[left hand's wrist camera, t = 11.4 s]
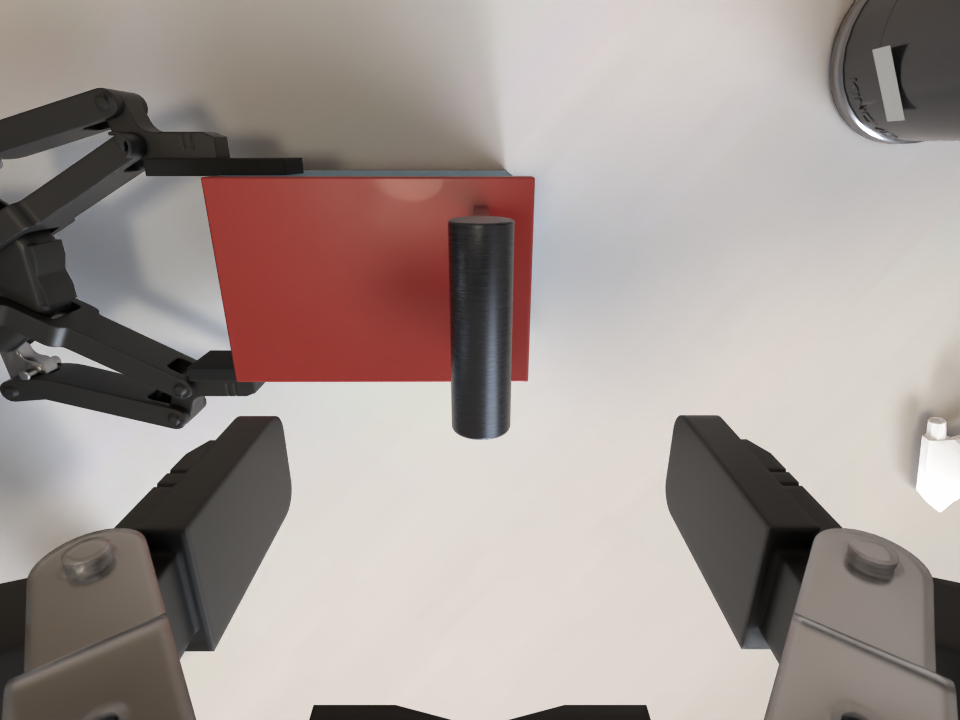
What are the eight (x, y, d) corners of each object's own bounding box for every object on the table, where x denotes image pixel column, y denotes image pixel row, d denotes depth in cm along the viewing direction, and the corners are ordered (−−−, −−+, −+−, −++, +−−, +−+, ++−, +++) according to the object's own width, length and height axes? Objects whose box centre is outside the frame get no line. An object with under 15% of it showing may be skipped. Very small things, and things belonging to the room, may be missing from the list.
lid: (533, 176, 24) (559, 187, 16) (526, 374, 28) (545, 465, 20) (209, 176, 24) (77, 188, 16) (243, 375, 28) (148, 466, 20)
